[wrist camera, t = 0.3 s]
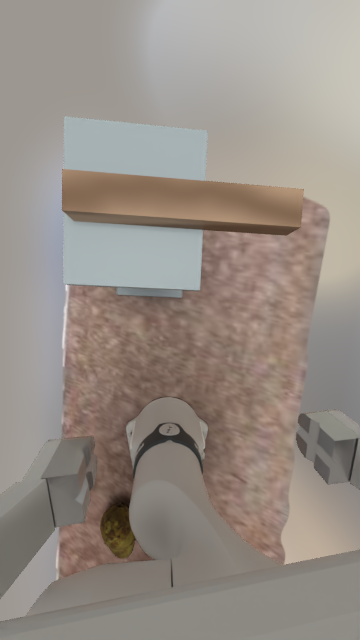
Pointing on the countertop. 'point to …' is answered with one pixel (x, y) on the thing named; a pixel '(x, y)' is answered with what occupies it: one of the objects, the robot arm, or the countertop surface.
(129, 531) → the potato
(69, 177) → the block
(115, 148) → the stand
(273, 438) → the countertop surface
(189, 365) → the countertop surface
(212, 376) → the countertop surface
